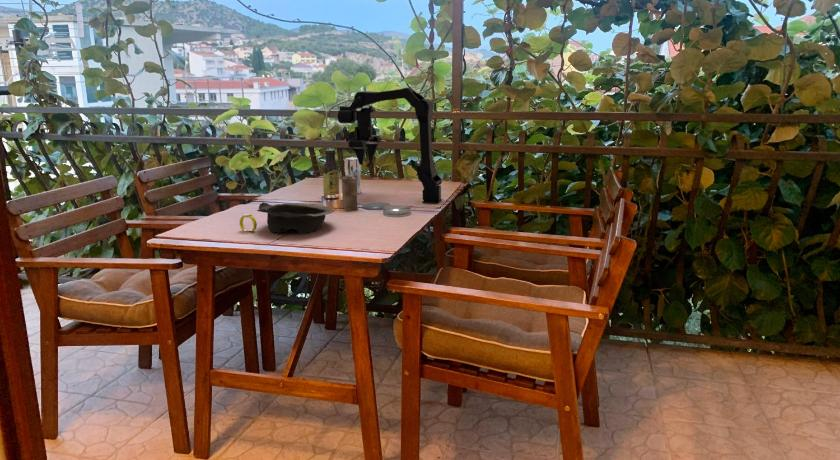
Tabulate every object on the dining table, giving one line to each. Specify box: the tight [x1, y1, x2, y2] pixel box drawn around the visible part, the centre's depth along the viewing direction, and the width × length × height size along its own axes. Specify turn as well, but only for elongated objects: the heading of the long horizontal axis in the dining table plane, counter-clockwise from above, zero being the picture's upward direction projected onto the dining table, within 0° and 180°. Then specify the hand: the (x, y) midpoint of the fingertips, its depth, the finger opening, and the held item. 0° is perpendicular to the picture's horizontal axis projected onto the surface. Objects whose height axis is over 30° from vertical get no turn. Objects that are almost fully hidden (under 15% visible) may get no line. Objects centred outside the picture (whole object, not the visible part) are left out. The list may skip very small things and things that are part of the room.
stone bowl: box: [256, 201, 335, 234], centre depth 200 cm, size 25×25×9 cm
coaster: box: [361, 201, 391, 211], centre depth 231 cm, size 11×11×1 cm
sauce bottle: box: [322, 149, 340, 197], centre depth 244 cm, size 7×6×20 cm
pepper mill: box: [341, 175, 359, 212], centre depth 226 cm, size 5×5×13 cm
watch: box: [239, 213, 258, 232], centre depth 198 cm, size 6×3×6 cm, turn 67°
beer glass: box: [344, 156, 362, 195], centre depth 253 cm, size 7×7×15 cm
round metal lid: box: [382, 204, 411, 218], centre depth 219 cm, size 10×10×2 cm
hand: (365, 162), depth 242 cm, fingers open, 9 cm apart
